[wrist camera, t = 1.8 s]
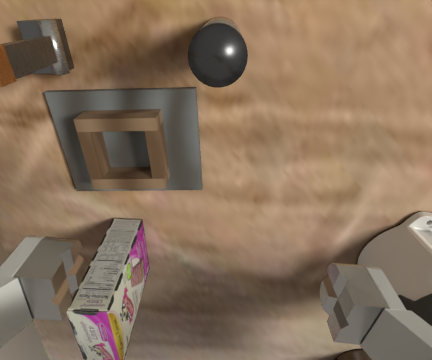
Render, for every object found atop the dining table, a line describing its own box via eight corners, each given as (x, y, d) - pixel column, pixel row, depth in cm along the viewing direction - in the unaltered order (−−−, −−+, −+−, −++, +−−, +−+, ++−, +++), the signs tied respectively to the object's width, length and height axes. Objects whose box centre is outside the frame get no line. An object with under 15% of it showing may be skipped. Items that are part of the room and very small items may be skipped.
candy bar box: (151, 267, 51) (123, 368, 37) (123, 267, 51) (84, 367, 37) (144, 217, 45) (108, 314, 31) (112, 216, 45) (61, 312, 31)
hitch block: (196, 87, 35) (192, 96, 31) (202, 186, 42) (200, 203, 38) (47, 90, 35) (28, 100, 32) (79, 187, 43) (66, 204, 39)
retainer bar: (51, 34, 28) (-15, 48, 20) (59, 63, 30) (1, 87, 21) (38, 35, 28) (-33, 48, 20) (47, 63, 30) (-16, 88, 21)
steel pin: (240, 15, 31) (248, 22, 20) (240, 60, 33) (246, 86, 23) (199, 17, 31) (185, 24, 21) (201, 61, 33) (190, 88, 23)
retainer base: (68, 18, 31) (50, 20, 28) (81, 67, 34) (65, 74, 31) (33, 19, 31) (11, 21, 28) (49, 68, 34) (30, 75, 31)
